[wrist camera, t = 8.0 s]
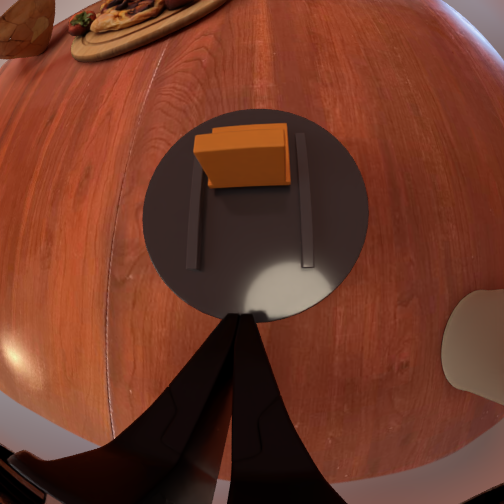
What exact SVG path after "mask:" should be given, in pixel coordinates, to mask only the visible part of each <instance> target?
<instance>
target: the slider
mask: <svg viewBox="0 0 504 504" xmlns="http://www.w3.org/2000/svg"><path fill="white" fill-rule="evenodd" d="M193 152H194V154H195V156H196V158H197V159H198V161H199V163H200V164H201V166H202V168H203V169H204V171H205V173H206V175H207V176H208V186H209V188H227V187H245V186H270V185H290V184H291V179H290V161H289V146H288V132H287V124H286V123H275V124H254V125H240V126H228V127H218V128H213V130H212V133H210V134H202V135H196V136H195V142H194V150H193Z"/></svg>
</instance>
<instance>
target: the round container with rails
mask: <svg viewBox="0 0 504 504" xmlns="http://www.w3.org/2000/svg"><path fill="white" fill-rule="evenodd" d="M275 123H286V124H287V132H288V146H289V161H290V179H291V184H290V185H270V186H245V187H227V188H209V186H208V176H207V175H206V173H205V171H204V169H203V168H202V166H201V164H200V163H199V161H198V159H197V158H196V156H195V154H194V152H193V150H194V142H195V136H196V135H202V134H210V133H212V130H213V128H218V127H228V126H240V125H254V124H275ZM368 217H369V209H368V197H367V192H366V188H365V184H364V181H363V178H362V176H361V173H360V171H359V169H358V167H357V165H356V163H355V161H354V159H353V158H352V156H351V155H350V154H349V152H348V151H347V149H346V148H345V147H344V146H343V145H342V144H341V143H340V142H339V141H338V140H337V139H336V138H335V137H334V136H333V135H332V134H330V133H329V132H328V131H327V130H325V129H324V128H322V127H321V126H319V125H318V124H316V123H314V122H312V121H310V120H308V119H306V118H304V117H301V116H298V115H295V114H292V113H289V112H284V111H279V110H271V109H247V110H239V111H234V112H230V113H226V114H223V115H220V116H217V117H215V118H212V119H210V120H208V121H206V122H204V123H202V124H200V125H198V126H197V127H195V128H194V129H192V130H191V131H189V132H188V133H187V134H185V135H184V136H183V137H182V138H180V139H179V140H178V141H177V142H176V143H175V144H174V145H173V146H172V147H171V148H170V150H169V151H168V152H167V153H166V154H165V156H164V157H163V158H162V160H161V161H160V163H159V165H158V166H157V168H156V170H155V172H154V174H153V176H152V178H151V180H150V183H149V186H148V189H147V192H146V196H145V201H144V206H143V234H144V239H145V243H146V248H147V251H148V253H149V256H150V259H151V261H152V263H153V265H154V267H155V269H156V271H157V273H158V274H159V276H160V277H161V278H162V280H163V281H164V282H165V284H166V285H167V286H168V287H169V288H170V289H171V290H172V291H173V292H174V293H175V294H176V295H177V296H178V297H179V298H181V299H182V300H183V301H184V302H186V303H187V304H188V305H190V306H192V307H194V308H195V309H197V310H199V311H201V312H203V313H205V314H208V315H210V316H213V317H216V318H219V319H223V318H224V317H225V316H226V315H227V314H228V313H239V314H240V315H241V314H242V313H252V314H253V315H254V318H255V321H256V323H263V322H271V321H276V320H281V319H285V318H288V317H291V316H293V315H296V314H299V313H301V312H303V311H305V310H307V309H309V308H311V307H313V306H315V305H316V304H318V303H319V302H320V301H322V300H323V299H325V298H326V297H327V296H329V295H330V294H331V293H332V292H333V291H334V290H335V289H336V288H337V287H338V286H339V285H340V284H341V283H342V282H343V280H344V279H345V278H346V277H347V275H348V274H349V273H350V271H351V270H352V268H353V266H354V265H355V263H356V261H357V259H358V257H359V255H360V252H361V250H362V247H363V245H364V242H365V237H366V233H367V229H368Z"/></svg>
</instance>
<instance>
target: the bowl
mask: <svg viewBox="0 0 504 504" xmlns="http://www.w3.org/2000/svg"><path fill="white" fill-rule="evenodd" d="M54 17H55V0H18V1H17V2H16V3H15V4H14V5H12V6H11V7H10V8H9V9H8V10H7V11H6V12H5V13H4V14H3V15H2V16H1V17H0V59H15V58H25V57H32V56H37V55H39V54H41V53H43V52H44V51H45V49H46V48H47V46H48V44H49V41H50V38H51V35H52V30H53V23H54ZM10 38H11V39H10Z"/></svg>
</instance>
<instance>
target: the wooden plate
mask: <svg viewBox="0 0 504 504" xmlns="http://www.w3.org/2000/svg"><path fill="white" fill-rule="evenodd" d="M226 1H227V0H106V3H104V4H102V5H101V7H100V12H99V13H98V14H95V13H94V12H92V11H83V12H79V13H77V14H75V15H74V16H73V17H72V18H71V19H70V21H69V26H68V29H69V33H70V34H71V35H72V36H76V37H75V39H74V41H73V43H72V46H71V54H72V56H73V58H74V59H75V60H77V61H81V62H95V61H100V60H104V59H108V58H111V57H114V56H117V55H120V54H123V53H125V52H128V51H131V50H133V49H136V48H138V47H141V46H143V45H146V44H148V43H151V42H153V41H155V40H157V39H159V38H162V37H164V36H166V35H168V34H170V33H173V32H175V31H177V30H178V29H181V28H183V27H185V26H187V25H189V24H191V23H193V22H195V21H197V20H198V19H200V18H202V17H204V16H205V15H207V14H209V13H210V12H212V11H213V10H215V9H217V8H218V7H220V6H221V5H222V4H224V3H225V2H226Z"/></svg>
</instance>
